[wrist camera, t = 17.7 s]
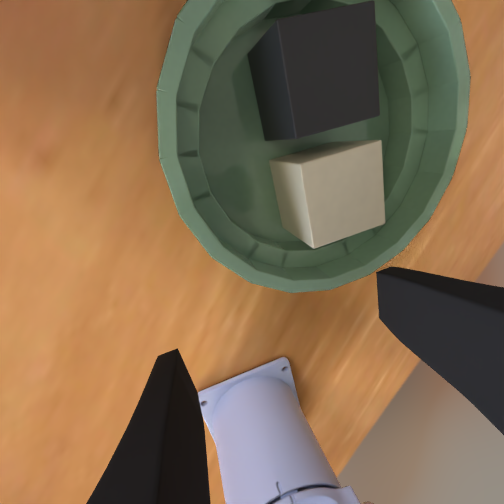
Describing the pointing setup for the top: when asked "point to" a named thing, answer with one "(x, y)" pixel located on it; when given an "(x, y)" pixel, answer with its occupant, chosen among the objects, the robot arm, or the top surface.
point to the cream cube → (330, 190)
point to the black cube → (316, 71)
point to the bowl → (260, 151)
